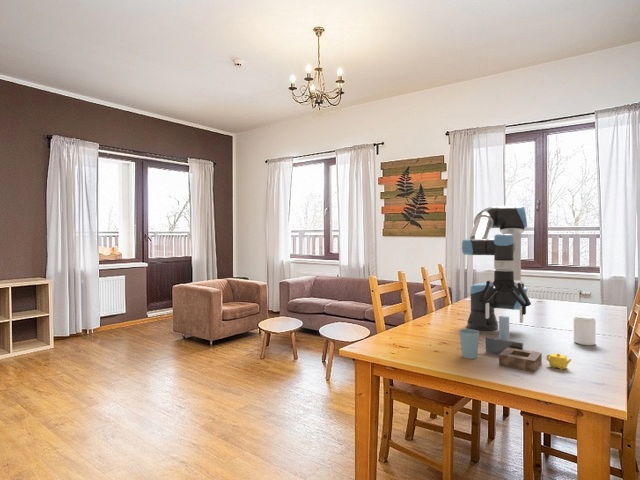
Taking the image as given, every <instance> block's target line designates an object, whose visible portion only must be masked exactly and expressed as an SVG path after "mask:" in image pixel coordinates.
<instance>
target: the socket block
mask: <svg viewBox="0 0 640 480" xmlns="http://www.w3.org/2000/svg"><path fill="white" fill-rule="evenodd" d="M542 353H543V352H539V351H533V350H528V349H523V350H522V349H516V348H510V347H507V348H506V349H505V350H504V351H503V352H502V353H500V354H498V365H499V366H502V367H508V368H513V369H519V370H522V371H523V370H524V371H527V372H532V373H533V372H534V373H535V372H536V371H537V369H539V367H540V366H541V365H542V363H543V362H542V357H543V355H542Z"/></svg>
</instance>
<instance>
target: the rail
mask: <svg viewBox="0 0 640 480" xmlns="http://www.w3.org/2000/svg"><path fill="white" fill-rule="evenodd" d="M507 347H510V348H516V349H522V350H524V343H523V342H520V341H512V340H509V341H507V340H501V339H499V338H493V337H485V353H488V354H489V353H490V354H493V355H499V354H500V353H502V352H503V351H504V350H505V349H506V348H507Z"/></svg>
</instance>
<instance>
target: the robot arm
mask: <svg viewBox="0 0 640 480" xmlns="http://www.w3.org/2000/svg"><path fill="white" fill-rule="evenodd" d="M526 228H528V221H527V214H526V208H525V206H523V205H515V204H514V205H500V206H499V205H498V206H496V205H495V206H490V207H487V208H485V209H483V210H481V211H480V212H479V213H477V214H476V216H475V217H474V220H473V227H472V230H471V234H470V236H469V238H464V239H463V240H462V242H461V251H462V254H463V255H467V256H494V257H493V258H494V259H493V264H494V265H493V267H494V271H493V272H494V274H493V275H494V276H493V277H494V279H493V281H491V280H487V281H486V282H479V283H474V284H471V286H470V293H469V294H470V312H469V316H468V319H467V321H466V323H467V324H466V325H467V327H468V328H469V329H473V330H477V331H495V330H499V321H498V320H497V317H496V314H495V309H502V310H513V311H514V310H516V311H518V310H519V324H522V323H524V315H526V314H527V307H530V306H531V305H532V303H531V300H530V299H529V297H528V295H527V294H528V287H526V286H525V283H524V281H522V279H521V278H522V275H521V274H522V269H521V268H522V234H523V233H524V232H525V229H526ZM491 229H499V232H500V234H499V233H498V234H495V235H494V237H493V238H488V235H489V233H490V230H491Z"/></svg>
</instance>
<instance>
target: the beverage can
mask: <svg viewBox="0 0 640 480" xmlns="http://www.w3.org/2000/svg"><path fill="white" fill-rule="evenodd" d="M596 322H597V321H596V319H595V317H594V316H592V315H585V314H576V315H574V318H573V342H575V343H576V344H578V345H581V346H594V345H596V337H597V336H596V333H597V332H596Z"/></svg>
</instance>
